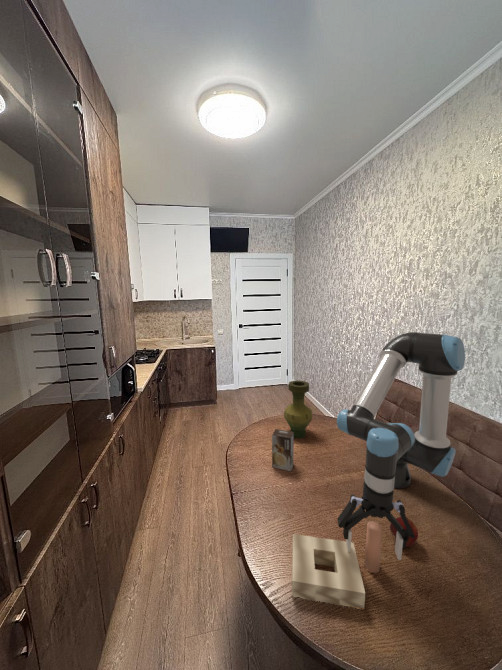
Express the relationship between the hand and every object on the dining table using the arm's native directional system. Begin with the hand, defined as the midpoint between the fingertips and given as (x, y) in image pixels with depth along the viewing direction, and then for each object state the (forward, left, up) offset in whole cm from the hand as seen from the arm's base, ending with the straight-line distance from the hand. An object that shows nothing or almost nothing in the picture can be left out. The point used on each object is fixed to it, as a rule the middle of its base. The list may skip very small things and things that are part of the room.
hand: (372, 551), depth 77 cm
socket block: (+14, +5, -5) cm, 16 cm away
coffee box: (+28, -43, -5) cm, 52 cm away
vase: (+21, -73, -5) cm, 76 cm away
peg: (0, 0, -5) cm, 5 cm away
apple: (-12, -10, -5) cm, 17 cm away
